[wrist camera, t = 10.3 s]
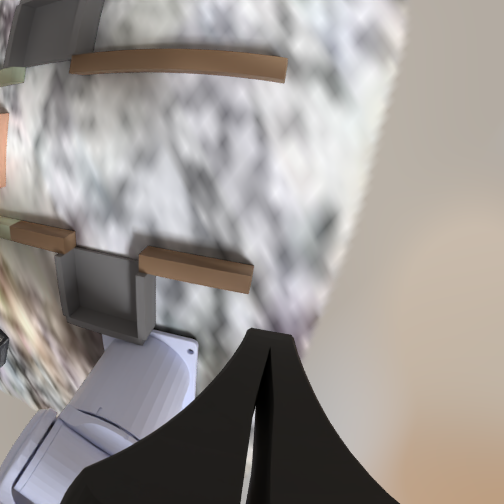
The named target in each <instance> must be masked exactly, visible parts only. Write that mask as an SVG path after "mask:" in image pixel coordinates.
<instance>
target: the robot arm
mask: <svg viewBox="0 0 504 504" xmlns="http://www.w3.org/2000/svg"><path fill="white" fill-rule="evenodd" d="M102 338H103V345H104V351H105V352H104V353H103V355H102V356H101V358H100V359H99V360H98V362H97V363H96V365H95V366H94V367H93V369H92V370H91V372H90V373H89V374H88V376H87V377H86V379H85V380H84V382H83V383H82V385H81V386H80V387H79V389H78V390H77V392H76V393H75V395H74V396H73V398H72V399H71V401H70V402H69V403H68V404H67V405H66V407H65V408H64V409H63V411H62V412H61V413H60V415H59V416H58V417H57V418H56V415H57V412H56V411H54V410H53V409H52V408H49V409H47V410H46V409H40V410H38V411H37V413H36V414H35V415H34V416H33V418H32V419H31V420H30V422H29V423H28V424H27V426H26V427H25V429H24V430H23V431H22V433H21V434H20V436H19V437H18V439H17V440H16V442H15V443H14V445H13V447H12V448H11V450H10V451H9V453H8V454H7V456H6V458H5V460H4V461H3V463H2V465H1V467H0V504H240V502H241V494H242V487H243V480H244V473H245V466H246V458H247V451H248V444H249V437H250V430H251V424H252V417H253V413H254V410H255V406H256V411H255V427H254V443H253V459H252V470H251V478H250V483H249V489H248V494H247V500H246V504H400V503H398V502H397V501H396V500H395V499H394V498H392V497H391V496H390V495H389V494H388V493H387V492H386V491H385V490H384V489H383V488H382V487H381V486H380V485H379V484H378V483H377V482H376V481H375V480H374V479H373V478H372V477H371V476H370V475H369V473H368V472H367V471H366V470H365V469H364V468H363V466H362V465H361V464H360V463H359V462H358V460H357V459H356V458H355V457H354V456H353V454H352V453H351V452H350V451H349V449H348V448H347V446H346V445H345V444H344V442H343V441H342V440H341V438H340V437H339V435H338V434H337V432H336V431H335V429H334V427H333V426H332V424H331V423H330V421H329V420H328V418H327V416H326V414H325V413H324V411H323V409H322V407H321V405H320V403H319V401H318V400H317V397H316V395H315V393H314V391H313V389H312V387H311V385H310V382H309V380H308V378H307V376H306V374H305V371H304V368H303V366H302V363H301V360H300V358H299V355H298V352H297V348H296V345H295V341H294V338H293V337H292V335H289V334H283V333H277V332H272V331H266V330H261V329H255V328H250V329H248V330H247V332H246V335H245V337H244V339H243V341H242V342H241V344H240V346H239V347H238V349H237V350H236V352H235V353H234V355H233V356H232V358H231V359H230V360H229V362H228V363H227V364H226V365H225V367H224V368H223V369H222V371H221V372H220V373H219V374H218V375H217V376H216V377H215V379H214V380H213V381H212V382H211V383H210V384H209V385H208V386H207V387H206V388H205V389H204V391H202V392H201V393H200V394H199V395H198V396H197V397H196V398H195V392H196V375H197V359H198V342H197V341H196V340H194V339H192V338H187V337H183V336H179V335H174V334H170V333H166V332H162V331H158V330H154V329H153V330H152V332H151V333H150V335H149V336H148V338H147V340H146V341H145V343H144V344H143V346H141V345H138V344H134V343H131V342H127V341H124V340H120V339H117V338H114V337H110V336H107V335H104V334H102ZM189 349H191V350H193V351H190V350H189Z"/></svg>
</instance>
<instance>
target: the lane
mask: <svg viewBox="0 0 504 504" xmlns="http://www.w3.org/2000/svg"><path fill="white" fill-rule="evenodd" d="M287 64H288V59H287V58H283V57H276V56H269V55H262V54H253V53H244V52H233V51H220V50H202V49H136V50H119V51H106V52H96V53H87V54H79V55H72V59H71V65H70V71H69V73H71V74H78V75H90V74H105V73H131V72H165V73H192V74H208V75H221V76H231V77H241V78H249V79H257V80H265V81H272V82H278V83H285V76H286V70H287ZM25 70H26V68H25V67H9V68H5V69H2V70H0V87H3V86H8V85H13V84H18V83H24V77H25ZM0 238H3V239H7V240H11V241H14V242H18V243H22V244H26V245H29V246H33V247H37V248H41V249H45V250H49V251H53V252H57V253H61V254H66V253H68V252H69V251H71V250H72V249H74V248H75V247H76V236H75V231H71V230H66V229H61V228H56V227H51V226H46V225H41V224H37V223H32V222H27V221H22V220H17V219H13V218H8V217H3V216H0ZM253 269H254V266H253V265H248V264H242V263H237V262H231V261H226V260H220V259H215V258H210V257H204V256H199V255H194V254H189V253H183V252H178V251H173V250H168V249H162V248H157V247H152V246H147V247H146V248H145V249H144V250H143V251H142V252H141V253H140V254H139V272H141V273H146V274H151V275H155V276H160V277H165V278H169V279H174V280H179V281H184V282H189V283H193V284H198V285H203V286H208V287H213V288H218V289H224V290H229V291H234V292H239V293H245V294H249V290H250V286H251V281H252V275H253Z"/></svg>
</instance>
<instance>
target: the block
mask: <svg viewBox="0 0 504 504" xmlns="http://www.w3.org/2000/svg"><path fill="white" fill-rule="evenodd" d="M8 120H9V113H0V188H2V187H5V186H6V146H7V131H8Z"/></svg>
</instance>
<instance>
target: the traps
mask: <svg viewBox="0 0 504 504" xmlns="http://www.w3.org/2000/svg"><path fill="white" fill-rule="evenodd" d="M103 4H104V0H21V1H20V4H19V5H18V6H17V7H16V11H15V14H14V18H13V22H12V26H11V31H10V35H9V40H8V45H7V50H6V55H5V61H4V67H3V68H9V67H25V68H26V67H31V66H36V65H42V64H48V63H54V62H60V61H67V60H71V59H72V55H79V54H87V53H93V50H94V44H95V39H96V34H97V29H98V25H99V20H100V16H101V12H102V8H103ZM55 264H56V272H57V280H58V287H59V293H60V299H61V305H62V311H63V315H64V316H66V318H67V322H68V323H70V324H73V325H76V326H79V327H82V328H85V329H88V330H91V331H94V332H97V333H101V334H104V335H107V336H110V337H114V338H117V339H120V340H124V341H127V342H131V343H134V344H138V345H141V346H143V344H144V343H145V341H146V340H147V338H148V336H149V335H150V333H151V332H152V330H153V328H154V327H155V325H156V276H155V275H151V274H146V273H141V272H139V260H134V259H130V258H125V257H120V256H116V255H111V254H107V253H102V252H97V251H93V250H88V249H84V248H80V247H75V248H74V249H72V250H71V251H69V252H68V253H66V254H61V253H58V254H56V255H55Z"/></svg>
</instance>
